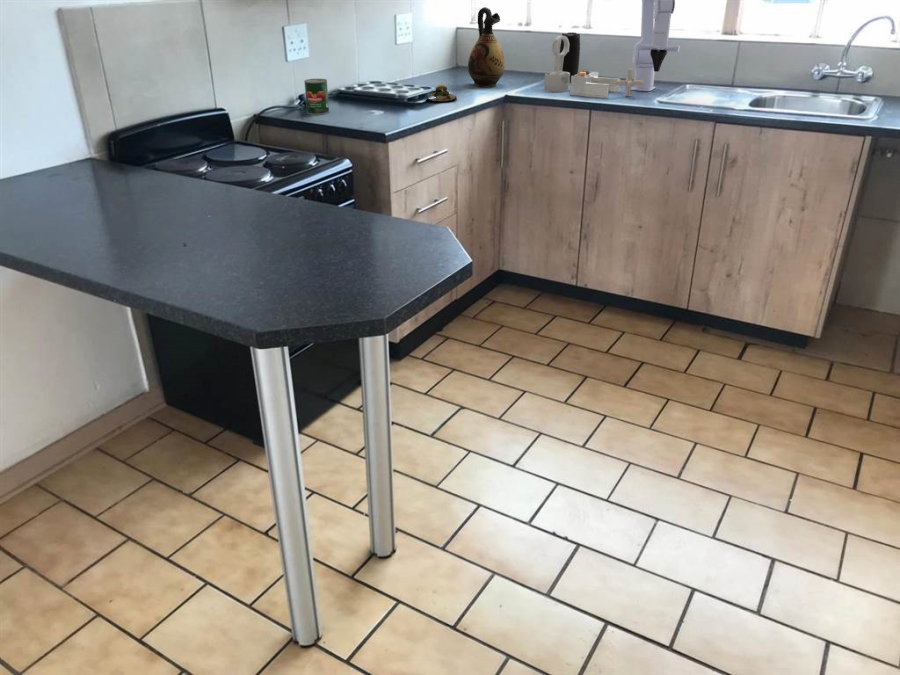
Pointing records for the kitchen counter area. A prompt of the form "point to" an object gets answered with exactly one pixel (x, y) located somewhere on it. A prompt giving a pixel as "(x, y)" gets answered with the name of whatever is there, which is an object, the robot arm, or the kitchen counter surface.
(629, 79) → the pipe connector
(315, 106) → the canned tomato
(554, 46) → the engine component
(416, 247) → the kitchen counter surface
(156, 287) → the kitchen counter surface
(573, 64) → the portable speaker
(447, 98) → the burger
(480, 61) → the ceramic jug
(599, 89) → the motor housing
